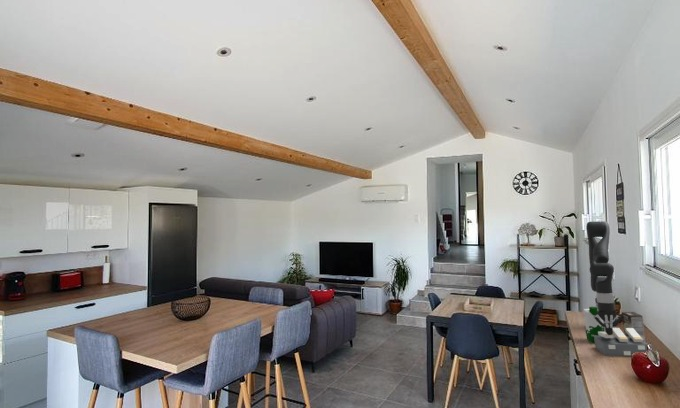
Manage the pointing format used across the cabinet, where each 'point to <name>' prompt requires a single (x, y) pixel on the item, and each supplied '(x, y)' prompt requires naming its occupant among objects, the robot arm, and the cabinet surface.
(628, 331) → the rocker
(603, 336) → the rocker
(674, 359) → the cabinet surface
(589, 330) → the milk carton
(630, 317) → the coffee box
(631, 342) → the switch unit
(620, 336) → the block
